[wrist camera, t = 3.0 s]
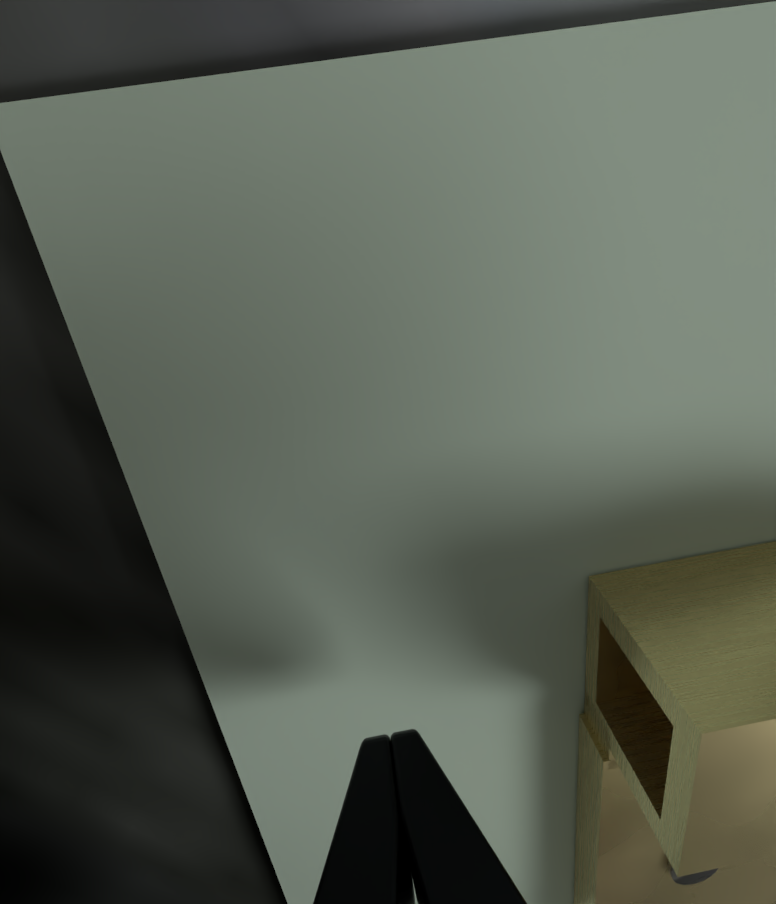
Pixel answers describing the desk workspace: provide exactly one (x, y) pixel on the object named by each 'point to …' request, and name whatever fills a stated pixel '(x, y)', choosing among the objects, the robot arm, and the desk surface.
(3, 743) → the desk surface
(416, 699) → the mat
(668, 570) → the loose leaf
